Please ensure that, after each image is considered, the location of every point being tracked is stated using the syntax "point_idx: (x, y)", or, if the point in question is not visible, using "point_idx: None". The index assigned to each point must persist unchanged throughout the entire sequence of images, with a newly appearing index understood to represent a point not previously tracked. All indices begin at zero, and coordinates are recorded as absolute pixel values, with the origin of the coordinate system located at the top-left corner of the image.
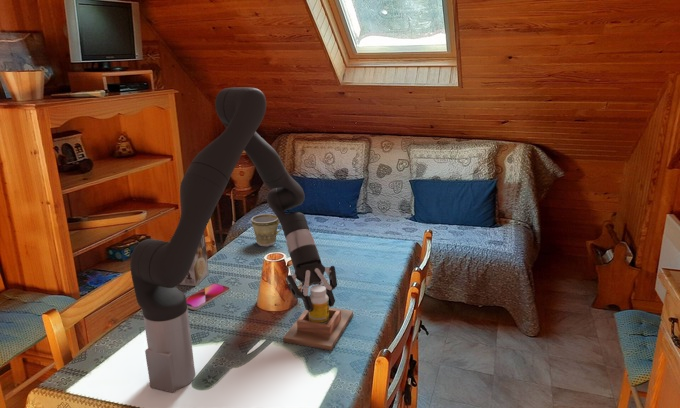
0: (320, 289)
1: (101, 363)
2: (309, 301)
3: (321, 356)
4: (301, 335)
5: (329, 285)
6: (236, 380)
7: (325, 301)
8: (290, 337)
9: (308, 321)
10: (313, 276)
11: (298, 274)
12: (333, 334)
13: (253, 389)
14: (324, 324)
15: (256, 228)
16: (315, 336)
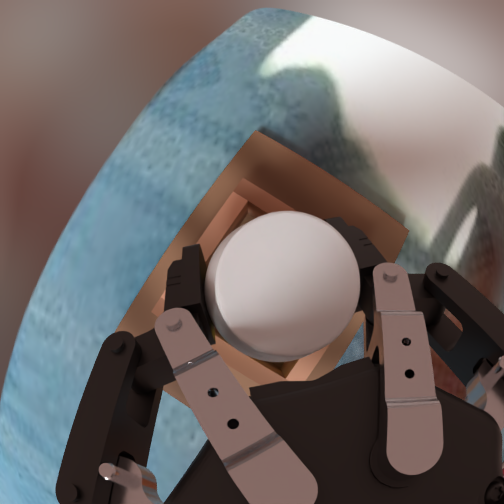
0: (273, 259)
1: None
2: (352, 241)
3: (292, 122)
4: (349, 223)
5: (166, 341)
6: (473, 123)
7: (241, 226)
8: (387, 223)
9: None
10: (324, 434)
11: (486, 417)
12: (228, 194)
13: (439, 85)
14: (261, 202)
15: None
16: (299, 201)
